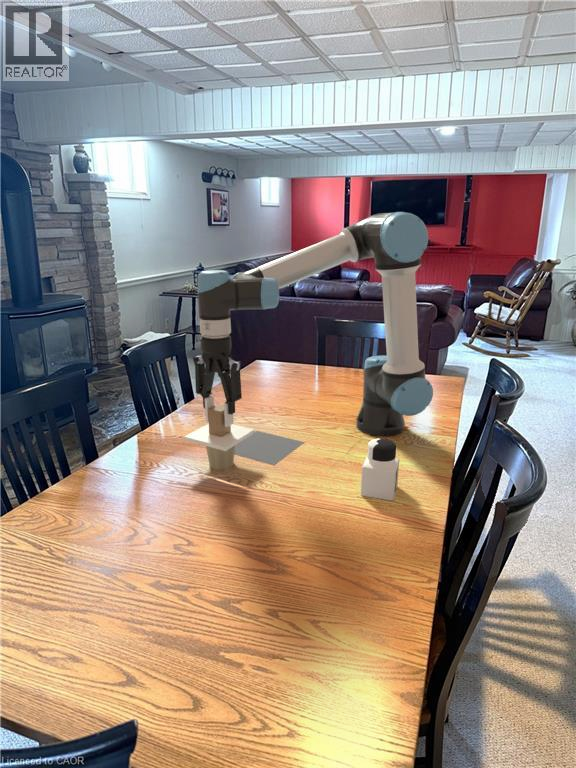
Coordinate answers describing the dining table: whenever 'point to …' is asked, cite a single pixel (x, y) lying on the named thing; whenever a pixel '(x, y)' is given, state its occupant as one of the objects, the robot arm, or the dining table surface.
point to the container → (380, 470)
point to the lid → (219, 431)
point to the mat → (266, 447)
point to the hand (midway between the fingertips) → (219, 422)
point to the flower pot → (220, 458)
